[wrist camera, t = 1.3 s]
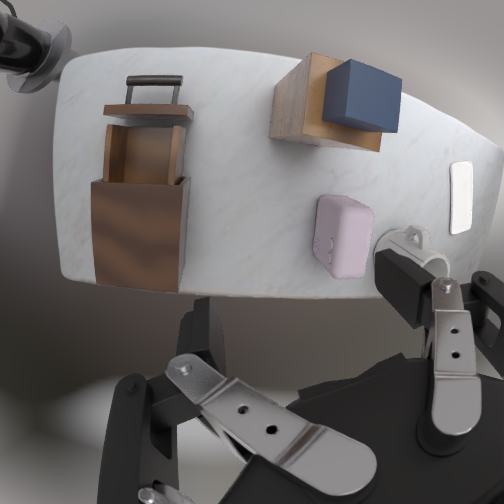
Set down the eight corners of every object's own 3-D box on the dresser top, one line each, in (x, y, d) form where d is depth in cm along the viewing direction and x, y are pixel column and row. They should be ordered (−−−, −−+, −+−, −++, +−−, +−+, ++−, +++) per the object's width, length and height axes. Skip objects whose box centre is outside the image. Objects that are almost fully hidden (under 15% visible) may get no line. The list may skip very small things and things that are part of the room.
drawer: (128, 83, 30) (110, 72, 23) (198, 84, 32) (194, 70, 25) (116, 195, 36) (97, 207, 29) (184, 199, 38) (177, 212, 31)
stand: (268, 137, 36) (301, 134, 22) (275, 85, 33) (311, 52, 19) (321, 146, 38) (379, 152, 23) (327, 96, 35) (387, 77, 20)
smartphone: (472, 161, 40) (471, 228, 46) (469, 160, 41) (468, 227, 46) (451, 163, 40) (451, 235, 46) (449, 162, 40) (449, 234, 46)
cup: (360, 243, 44) (398, 275, 33) (396, 210, 43) (441, 232, 32) (383, 281, 48) (418, 315, 37) (416, 251, 47) (455, 278, 36)
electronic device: (315, 192, 40) (343, 208, 31) (342, 194, 41) (375, 210, 32) (309, 254, 44) (331, 283, 35) (335, 253, 45) (362, 281, 35)
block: (321, 120, 21) (345, 116, 17) (327, 71, 20) (350, 58, 15) (368, 132, 22) (397, 133, 18) (373, 86, 20) (402, 79, 16)
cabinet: (116, 173, 35) (90, 182, 27) (191, 176, 37) (183, 186, 29) (116, 257, 40) (96, 284, 32) (184, 263, 42) (178, 293, 34)
